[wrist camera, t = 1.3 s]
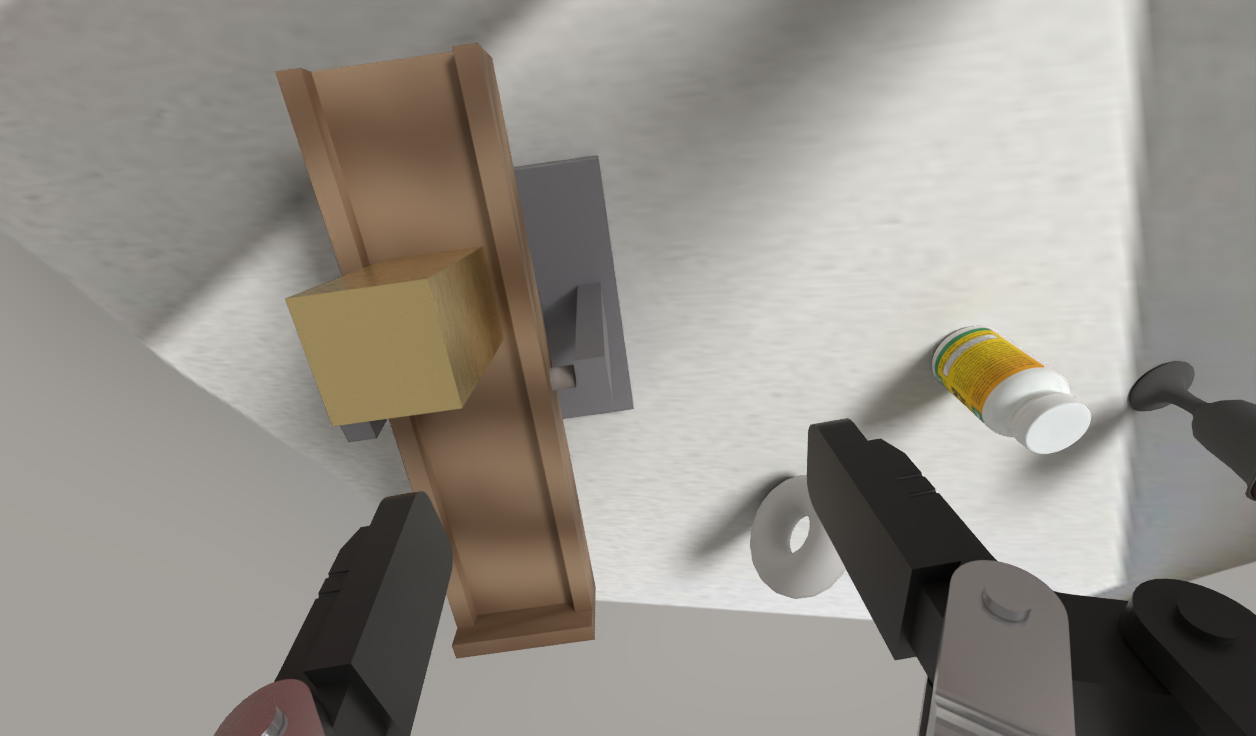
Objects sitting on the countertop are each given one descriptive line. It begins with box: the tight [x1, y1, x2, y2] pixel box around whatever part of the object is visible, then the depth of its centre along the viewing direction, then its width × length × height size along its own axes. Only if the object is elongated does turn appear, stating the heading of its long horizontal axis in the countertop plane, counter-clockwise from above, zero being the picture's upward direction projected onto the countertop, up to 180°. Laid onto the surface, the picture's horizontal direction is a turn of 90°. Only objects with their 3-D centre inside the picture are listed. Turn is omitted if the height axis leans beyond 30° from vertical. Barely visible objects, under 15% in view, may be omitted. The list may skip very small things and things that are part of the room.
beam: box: [275, 43, 596, 658], centre depth 26 cm, size 30×10×4 cm, turn 7°
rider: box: [285, 246, 504, 426], centre depth 21 cm, size 4×4×8 cm
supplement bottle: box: [932, 325, 1091, 454], centre depth 36 cm, size 5×5×10 cm
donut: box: [750, 475, 846, 599], centre depth 42 cm, size 10×4×10 cm, turn 146°
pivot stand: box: [340, 156, 634, 442], centre depth 31 cm, size 18×16×11 cm
